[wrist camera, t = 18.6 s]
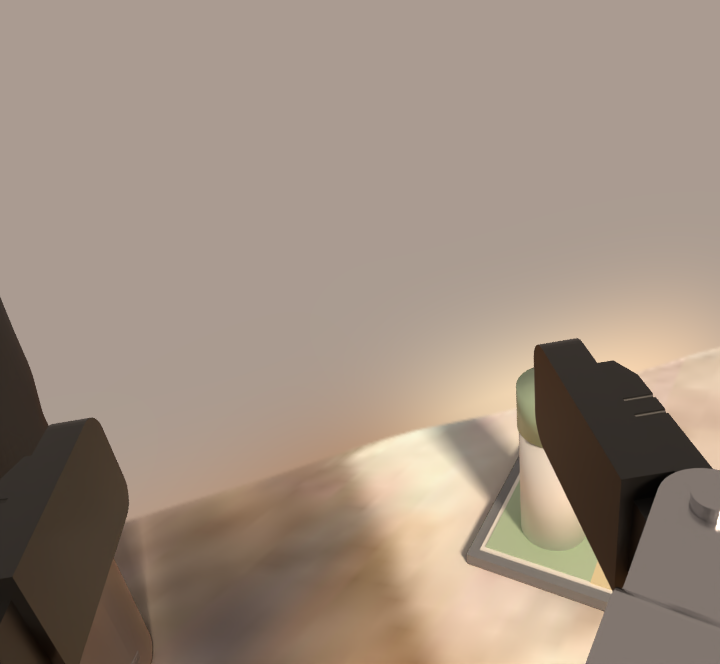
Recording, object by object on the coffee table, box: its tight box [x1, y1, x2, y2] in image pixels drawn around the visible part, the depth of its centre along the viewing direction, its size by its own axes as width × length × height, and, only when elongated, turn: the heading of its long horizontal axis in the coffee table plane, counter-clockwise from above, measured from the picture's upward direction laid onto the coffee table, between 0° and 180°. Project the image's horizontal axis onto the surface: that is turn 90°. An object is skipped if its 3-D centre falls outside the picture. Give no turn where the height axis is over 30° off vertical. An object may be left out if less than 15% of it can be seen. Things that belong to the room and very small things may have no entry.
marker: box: [516, 368, 586, 551], centre depth 43 cm, size 5×5×12 cm
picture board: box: [466, 457, 613, 611], centre depth 46 cm, size 16×13×1 cm
